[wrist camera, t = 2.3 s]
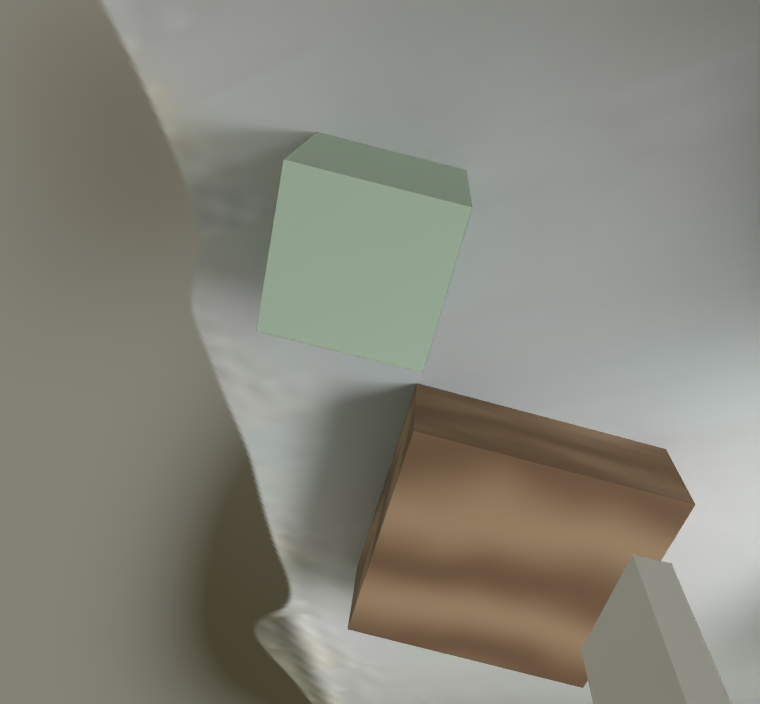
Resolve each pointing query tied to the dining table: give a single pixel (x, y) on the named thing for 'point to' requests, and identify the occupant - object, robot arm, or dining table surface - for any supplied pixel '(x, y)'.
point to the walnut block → (509, 533)
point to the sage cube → (362, 250)
